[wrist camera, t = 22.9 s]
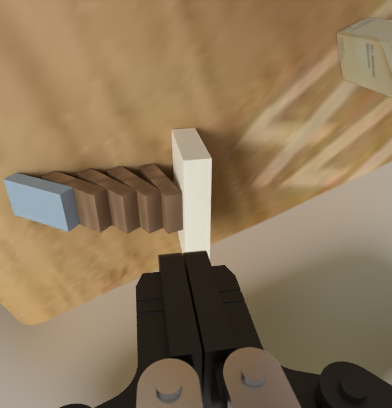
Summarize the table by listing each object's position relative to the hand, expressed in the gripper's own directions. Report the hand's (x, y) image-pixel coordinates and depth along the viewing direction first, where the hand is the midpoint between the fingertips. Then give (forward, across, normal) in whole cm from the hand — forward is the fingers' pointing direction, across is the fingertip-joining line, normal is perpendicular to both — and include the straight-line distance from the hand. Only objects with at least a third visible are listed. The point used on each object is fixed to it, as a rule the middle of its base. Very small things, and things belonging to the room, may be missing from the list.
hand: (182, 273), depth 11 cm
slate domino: (+33, -17, -14) cm, 40 cm away
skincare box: (+35, +26, +2) cm, 44 cm away
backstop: (+34, +5, -14) cm, 38 cm away
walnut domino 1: (+34, -13, -14) cm, 39 cm away
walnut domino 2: (+34, -8, -14) cm, 38 cm away
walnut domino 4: (+34, 0, -14) cm, 37 cm away
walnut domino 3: (+34, -4, -14) cm, 37 cm away
